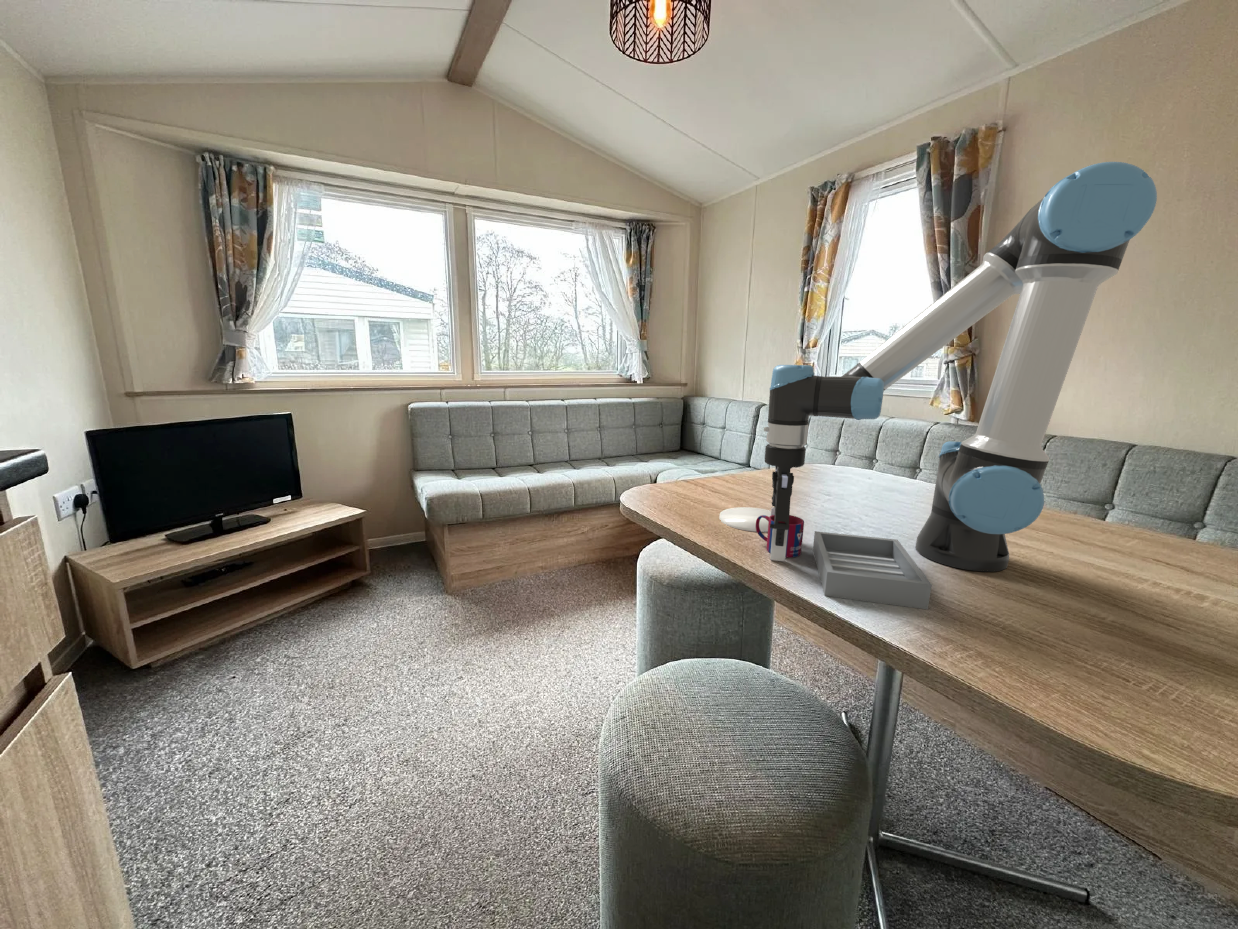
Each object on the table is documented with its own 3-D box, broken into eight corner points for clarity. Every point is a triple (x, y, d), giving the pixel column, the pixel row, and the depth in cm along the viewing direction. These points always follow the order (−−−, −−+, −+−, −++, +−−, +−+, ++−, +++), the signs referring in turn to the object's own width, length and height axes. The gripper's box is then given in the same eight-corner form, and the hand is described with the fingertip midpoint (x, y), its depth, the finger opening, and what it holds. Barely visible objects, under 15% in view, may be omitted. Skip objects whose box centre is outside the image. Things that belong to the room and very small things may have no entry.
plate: (786, 515, 122) (786, 510, 122) (789, 536, 107) (790, 531, 107) (721, 509, 126) (722, 504, 126) (716, 529, 111) (716, 524, 111)
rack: (894, 559, 94) (897, 539, 93) (927, 609, 75) (931, 584, 75) (812, 550, 98) (814, 531, 97) (824, 595, 80) (827, 571, 79)
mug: (787, 560, 93) (790, 527, 92) (746, 544, 101) (749, 513, 100) (808, 553, 97) (811, 521, 96) (767, 538, 105) (770, 508, 104)
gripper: (765, 434, 107) (757, 526, 112) (766, 455, 84) (757, 569, 89) (801, 436, 105) (792, 529, 110) (812, 458, 82) (800, 574, 87)
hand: (776, 547), depth 99 cm, fingers open, 12 cm apart
